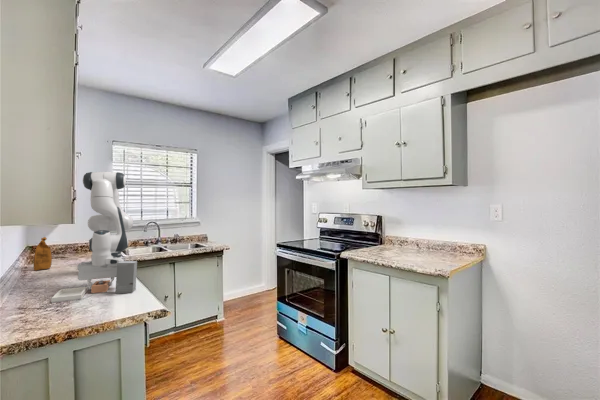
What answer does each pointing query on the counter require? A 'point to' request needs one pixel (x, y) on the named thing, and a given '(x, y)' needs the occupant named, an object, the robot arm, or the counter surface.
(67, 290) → the tray
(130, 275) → the skincare box
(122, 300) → the counter surface
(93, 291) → the brown open box
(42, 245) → the coffee package
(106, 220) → the robot arm
